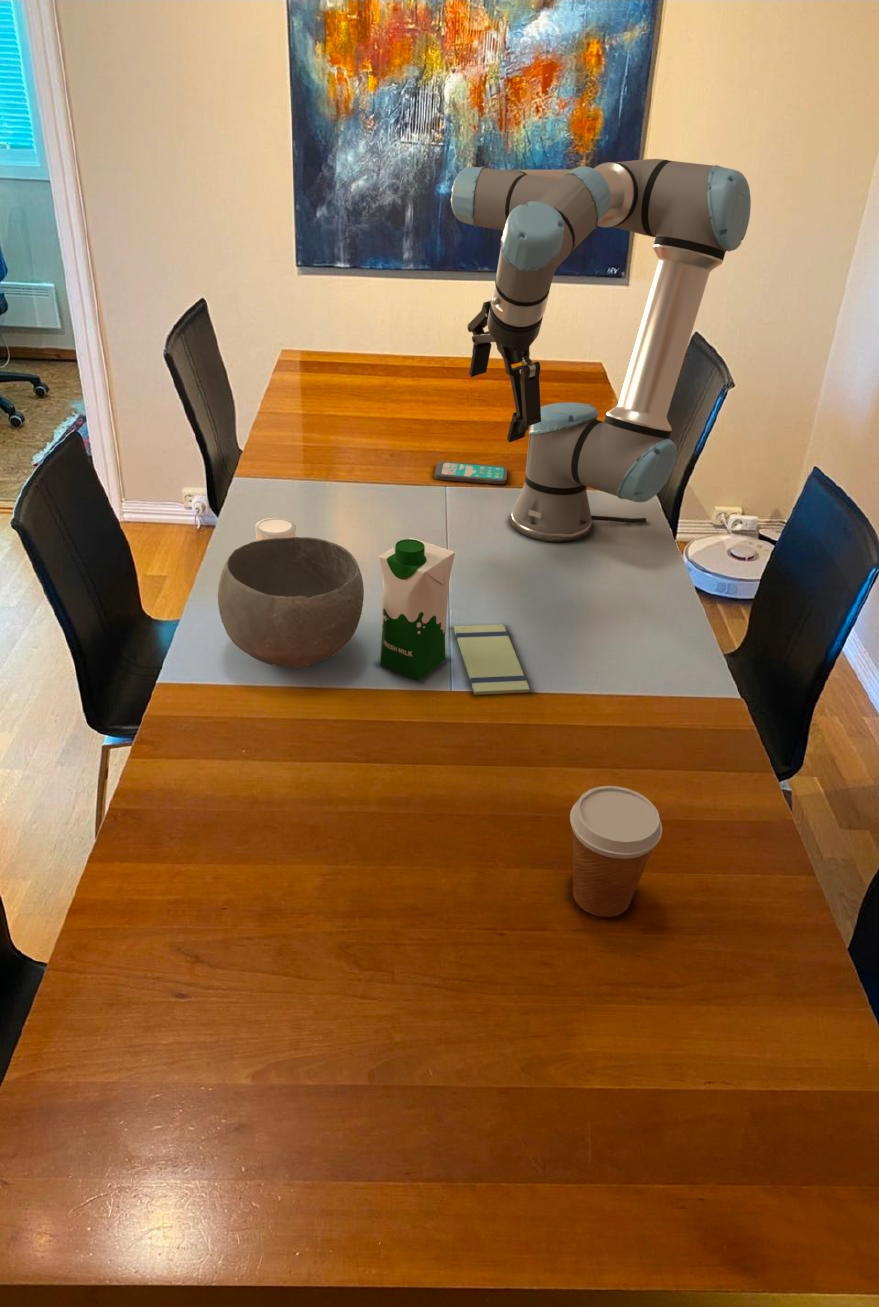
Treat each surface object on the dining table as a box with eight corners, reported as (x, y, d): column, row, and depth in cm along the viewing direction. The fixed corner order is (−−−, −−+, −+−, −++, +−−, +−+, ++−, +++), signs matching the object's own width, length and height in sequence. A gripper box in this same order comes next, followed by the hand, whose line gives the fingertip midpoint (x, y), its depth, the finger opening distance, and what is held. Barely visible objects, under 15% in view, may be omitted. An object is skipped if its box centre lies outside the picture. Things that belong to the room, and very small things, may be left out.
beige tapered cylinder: (289, 574, 166) (288, 536, 163) (250, 568, 167) (248, 531, 164) (302, 556, 172) (301, 520, 168) (264, 551, 173) (263, 514, 169)
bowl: (248, 704, 134) (242, 609, 126) (205, 632, 149) (197, 543, 141) (385, 672, 143) (387, 581, 135) (331, 607, 158) (331, 521, 150)
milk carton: (371, 665, 144) (373, 542, 133) (405, 640, 151) (410, 520, 140) (421, 686, 140) (427, 561, 129) (454, 658, 147) (463, 537, 136)
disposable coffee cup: (550, 865, 111) (563, 783, 105) (633, 863, 112) (650, 782, 106) (567, 930, 103) (581, 846, 97) (655, 927, 104) (675, 844, 98)
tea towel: (503, 627, 155) (504, 624, 155) (529, 692, 140) (530, 688, 140) (453, 629, 154) (453, 625, 154) (474, 695, 139) (474, 691, 139)
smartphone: (437, 459, 211) (507, 465, 210) (437, 464, 212) (507, 469, 211) (434, 475, 204) (506, 480, 203) (433, 479, 204) (506, 485, 204)
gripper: (454, 252, 140) (441, 353, 159) (534, 384, 132) (510, 474, 151) (501, 238, 142) (483, 340, 161) (582, 368, 133) (553, 459, 153)
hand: (496, 405), depth 156 cm, fingers open, 13 cm apart
